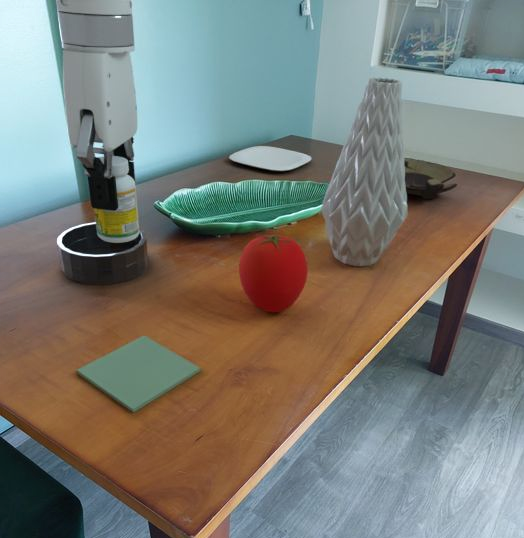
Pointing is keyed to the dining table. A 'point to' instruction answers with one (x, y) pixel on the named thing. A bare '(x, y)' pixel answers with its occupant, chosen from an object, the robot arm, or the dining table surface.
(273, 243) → the tomato
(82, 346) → the dining table surface
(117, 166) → the supplement bottle
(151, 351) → the mat
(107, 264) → the pan
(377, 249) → the vase
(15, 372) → the dining table surface
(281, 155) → the plate
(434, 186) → the oil lamp
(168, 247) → the dining table surface
